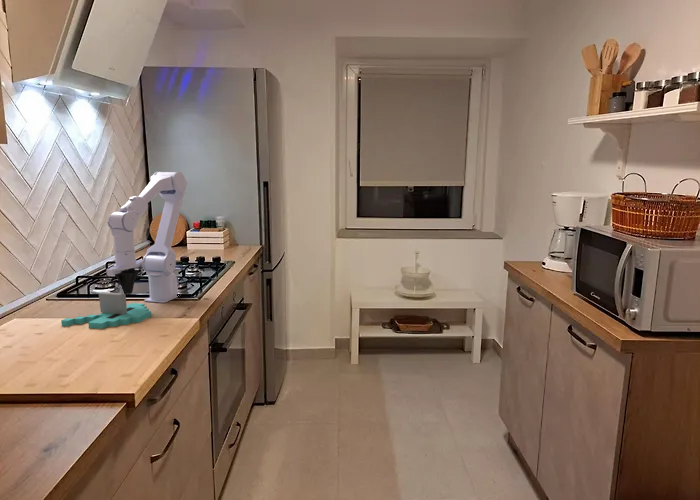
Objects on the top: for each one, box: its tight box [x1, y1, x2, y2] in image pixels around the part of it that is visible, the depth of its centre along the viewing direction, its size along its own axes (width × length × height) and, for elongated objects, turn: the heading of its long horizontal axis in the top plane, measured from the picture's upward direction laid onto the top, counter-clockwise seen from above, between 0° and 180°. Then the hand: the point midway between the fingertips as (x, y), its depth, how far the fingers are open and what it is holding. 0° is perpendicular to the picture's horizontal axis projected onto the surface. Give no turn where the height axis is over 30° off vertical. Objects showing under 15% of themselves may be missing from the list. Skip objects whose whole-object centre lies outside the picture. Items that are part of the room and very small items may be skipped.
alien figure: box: [60, 302, 152, 330], centre depth 152 cm, size 20×2×20 cm
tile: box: [98, 291, 127, 314], centre depth 151 cm, size 2×8×6 cm, turn 77°
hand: (128, 293), depth 156 cm, fingers closed
